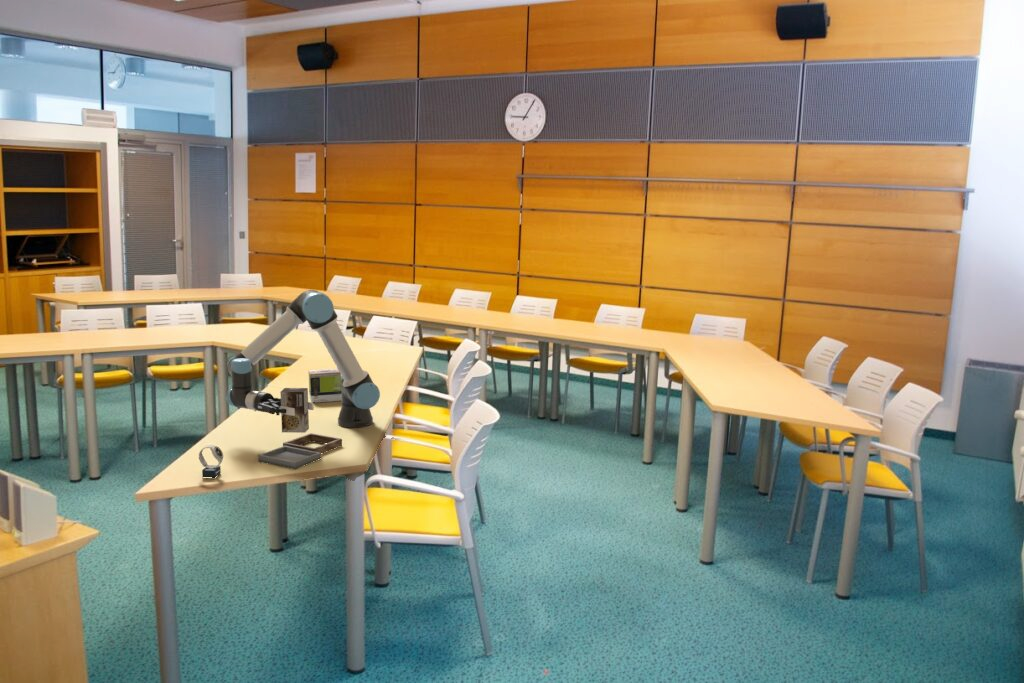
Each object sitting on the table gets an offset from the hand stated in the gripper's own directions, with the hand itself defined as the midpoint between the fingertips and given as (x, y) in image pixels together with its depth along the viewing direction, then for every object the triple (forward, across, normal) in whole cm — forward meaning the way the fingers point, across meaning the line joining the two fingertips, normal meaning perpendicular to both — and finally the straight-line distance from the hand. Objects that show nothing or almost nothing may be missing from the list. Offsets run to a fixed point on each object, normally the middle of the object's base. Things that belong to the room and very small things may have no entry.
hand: (303, 409), depth 299 cm
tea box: (-55, -74, -19) cm, 94 cm away
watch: (-12, +33, -19) cm, 40 cm away
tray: (-1, +6, -19) cm, 20 cm away
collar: (-5, -10, -19) cm, 21 cm away
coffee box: (-4, 0, -9) cm, 10 cm away
